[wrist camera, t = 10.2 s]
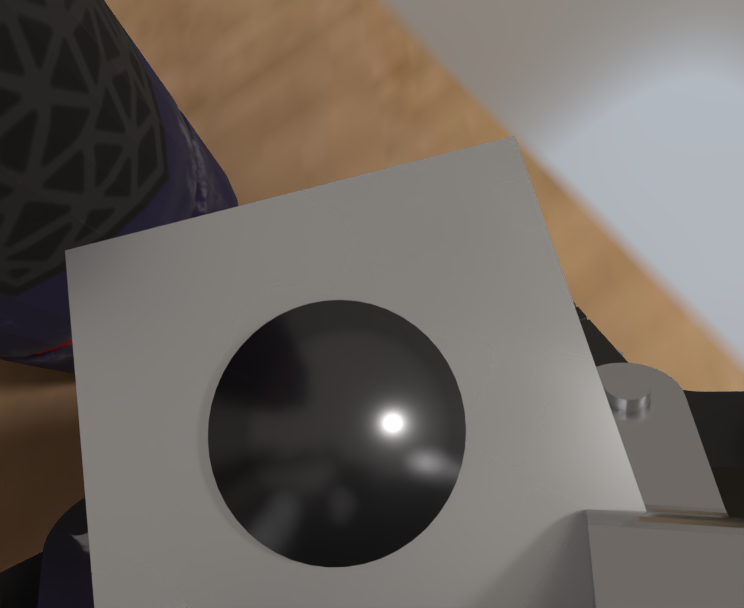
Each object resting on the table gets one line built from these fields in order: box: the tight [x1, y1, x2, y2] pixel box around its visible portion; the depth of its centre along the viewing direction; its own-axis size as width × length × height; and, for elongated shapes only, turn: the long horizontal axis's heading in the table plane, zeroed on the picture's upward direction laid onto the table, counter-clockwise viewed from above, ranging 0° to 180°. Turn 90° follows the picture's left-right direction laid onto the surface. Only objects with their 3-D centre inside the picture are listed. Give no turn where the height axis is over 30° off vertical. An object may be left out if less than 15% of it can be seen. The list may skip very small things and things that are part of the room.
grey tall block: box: [65, 136, 646, 608], centre depth 10 cm, size 5×5×10 cm
